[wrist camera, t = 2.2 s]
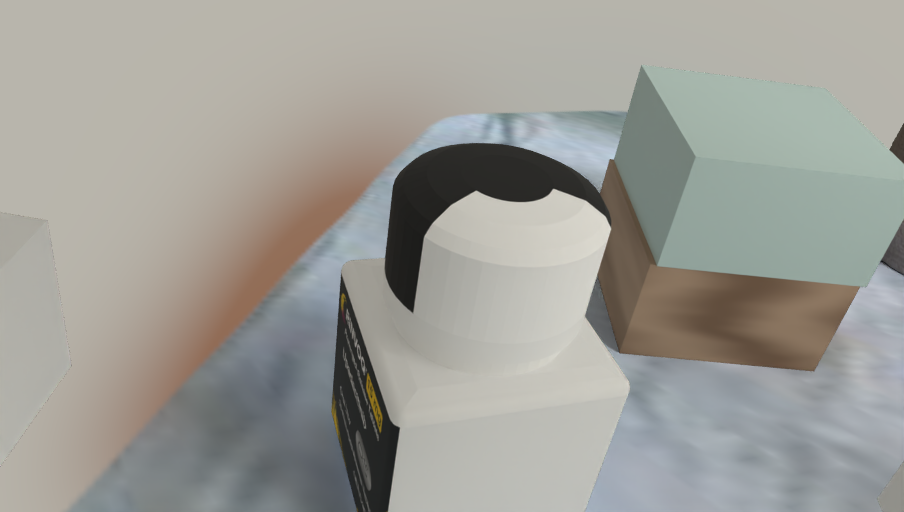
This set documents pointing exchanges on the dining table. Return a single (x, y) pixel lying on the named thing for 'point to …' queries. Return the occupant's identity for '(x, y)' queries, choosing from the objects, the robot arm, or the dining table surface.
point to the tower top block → (757, 178)
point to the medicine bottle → (478, 341)
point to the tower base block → (709, 304)
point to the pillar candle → (900, 251)
